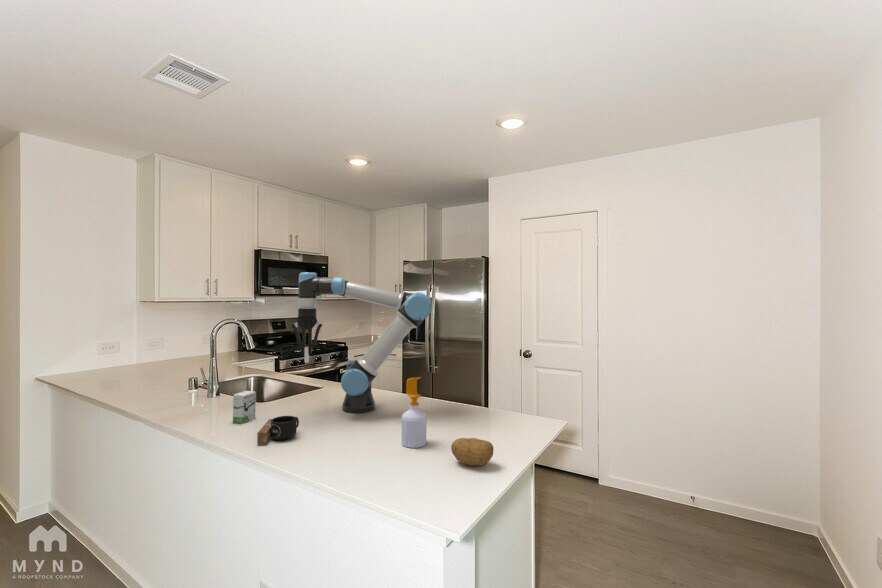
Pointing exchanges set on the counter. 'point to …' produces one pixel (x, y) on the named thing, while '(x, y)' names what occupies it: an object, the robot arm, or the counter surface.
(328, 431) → the counter surface
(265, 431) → the long brown box
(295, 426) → the mug
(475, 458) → the potato
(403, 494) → the counter surface
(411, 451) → the counter surface
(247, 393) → the ink box
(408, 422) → the soap bottle
